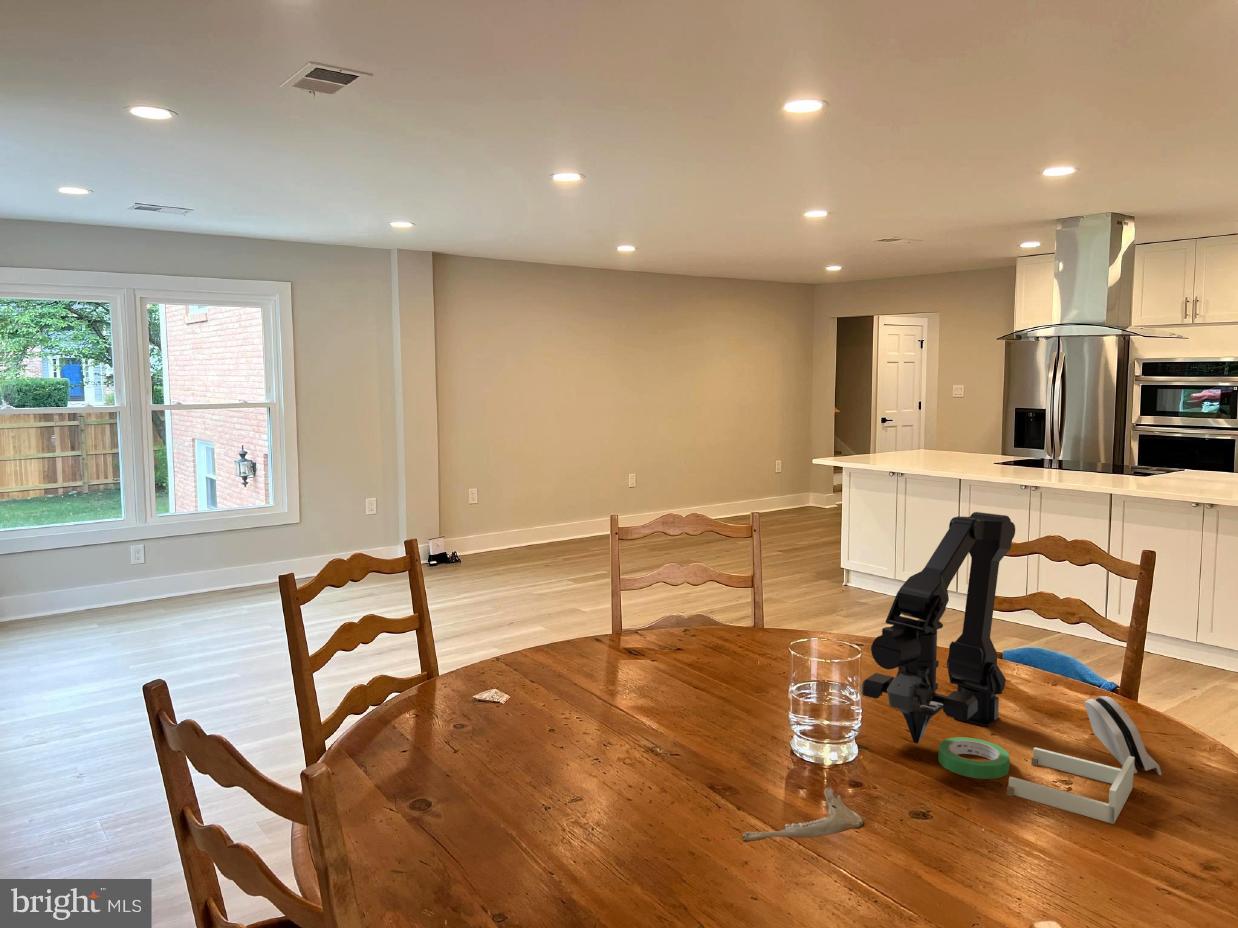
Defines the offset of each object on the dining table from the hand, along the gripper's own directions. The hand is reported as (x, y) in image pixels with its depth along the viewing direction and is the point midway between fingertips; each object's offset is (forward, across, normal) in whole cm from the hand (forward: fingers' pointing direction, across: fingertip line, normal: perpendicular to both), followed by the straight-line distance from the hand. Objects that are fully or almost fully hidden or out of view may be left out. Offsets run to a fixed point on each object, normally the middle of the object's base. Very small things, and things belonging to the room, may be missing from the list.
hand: (916, 742), depth 150 cm
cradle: (+1, +25, 0) cm, 25 cm away
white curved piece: (+1, +28, +20) cm, 34 cm away
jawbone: (+2, -5, -35) cm, 36 cm away
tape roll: (+2, +10, 0) cm, 10 cm away
